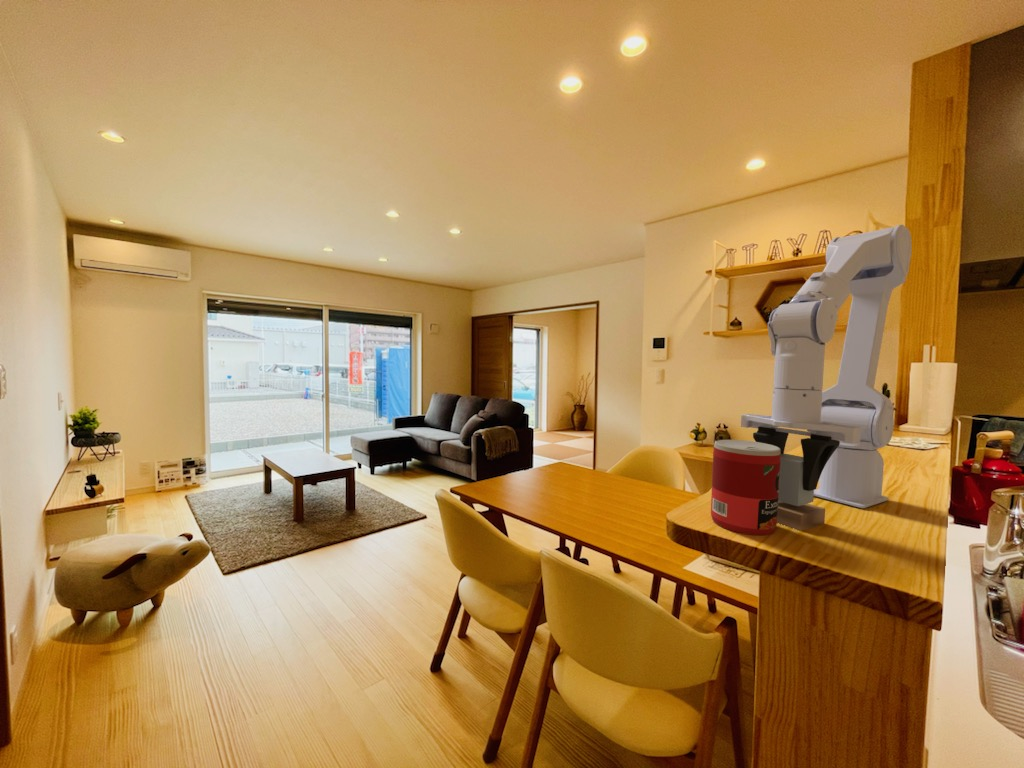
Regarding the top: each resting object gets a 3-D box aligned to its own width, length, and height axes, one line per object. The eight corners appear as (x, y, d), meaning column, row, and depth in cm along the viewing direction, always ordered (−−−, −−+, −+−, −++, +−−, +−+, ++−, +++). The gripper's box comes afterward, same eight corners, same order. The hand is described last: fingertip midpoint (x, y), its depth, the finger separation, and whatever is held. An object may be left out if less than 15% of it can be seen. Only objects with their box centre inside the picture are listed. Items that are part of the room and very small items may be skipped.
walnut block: (779, 512, 64) (780, 496, 64) (824, 526, 59) (825, 508, 59) (755, 518, 61) (756, 501, 61) (800, 533, 56) (801, 515, 56)
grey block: (783, 493, 63) (785, 453, 62) (813, 501, 59) (815, 459, 59) (767, 497, 61) (769, 456, 60) (797, 506, 57) (800, 462, 57)
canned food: (773, 541, 52) (778, 453, 52) (704, 525, 57) (707, 444, 57) (779, 523, 58) (784, 444, 58) (716, 510, 63) (720, 437, 63)
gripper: (730, 386, 63) (726, 475, 64) (844, 393, 51) (837, 504, 52) (757, 385, 67) (753, 470, 68) (870, 392, 54) (863, 496, 55)
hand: (791, 485), depth 60 cm, fingers closed on grey block, 4 cm apart
